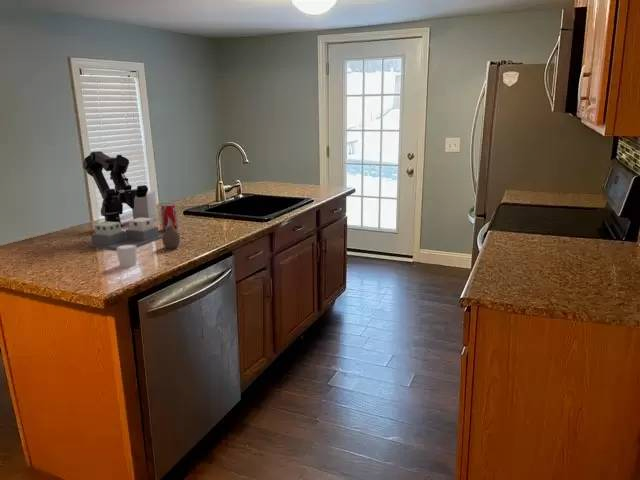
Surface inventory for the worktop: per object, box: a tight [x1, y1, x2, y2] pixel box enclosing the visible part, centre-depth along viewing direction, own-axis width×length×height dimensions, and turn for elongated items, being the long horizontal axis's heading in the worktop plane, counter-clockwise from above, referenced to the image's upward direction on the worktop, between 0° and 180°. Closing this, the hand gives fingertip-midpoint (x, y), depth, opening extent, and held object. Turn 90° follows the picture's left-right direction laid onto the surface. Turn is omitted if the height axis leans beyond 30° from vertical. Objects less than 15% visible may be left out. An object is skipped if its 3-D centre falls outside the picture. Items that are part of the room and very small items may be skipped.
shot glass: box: [116, 245, 138, 268], centre depth 179 cm, size 7×7×7 cm
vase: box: [161, 226, 181, 250], centre depth 201 cm, size 7×7×9 cm
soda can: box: [160, 202, 179, 231], centre depth 232 cm, size 7×7×12 cm
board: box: [87, 226, 163, 251], centre depth 211 cm, size 20×23×5 cm
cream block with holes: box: [128, 217, 155, 231], centre depth 213 cm, size 7×7×6 cm
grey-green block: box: [94, 221, 122, 236], centre depth 206 cm, size 7×7×6 cm
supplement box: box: [131, 190, 158, 222], centre depth 250 cm, size 9×9×15 cm
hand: (133, 208), depth 217 cm, fingers closed
